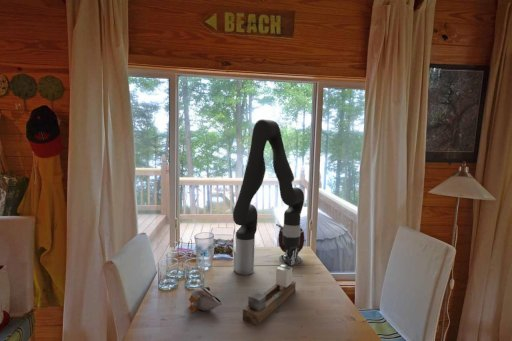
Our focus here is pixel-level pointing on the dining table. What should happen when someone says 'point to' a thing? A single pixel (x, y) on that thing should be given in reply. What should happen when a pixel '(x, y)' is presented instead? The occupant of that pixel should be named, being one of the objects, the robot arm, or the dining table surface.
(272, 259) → the dining table surface
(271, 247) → the dining table surface
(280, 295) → the beam
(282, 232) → the mate gourd
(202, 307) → the decorative duck model
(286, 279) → the block
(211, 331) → the dining table surface
